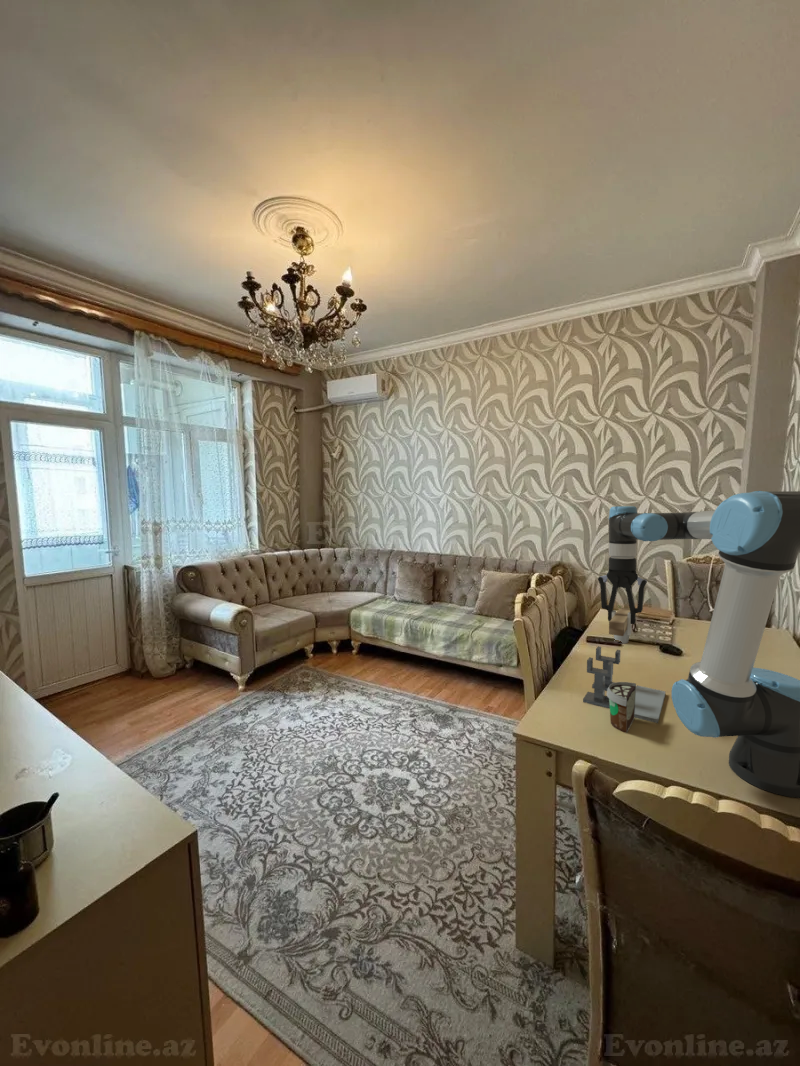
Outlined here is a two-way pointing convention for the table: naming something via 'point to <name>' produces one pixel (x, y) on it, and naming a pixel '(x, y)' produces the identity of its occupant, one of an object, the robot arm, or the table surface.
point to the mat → (648, 703)
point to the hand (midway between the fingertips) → (621, 632)
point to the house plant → (622, 638)
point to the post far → (605, 664)
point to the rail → (619, 622)
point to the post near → (598, 685)
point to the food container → (622, 704)
